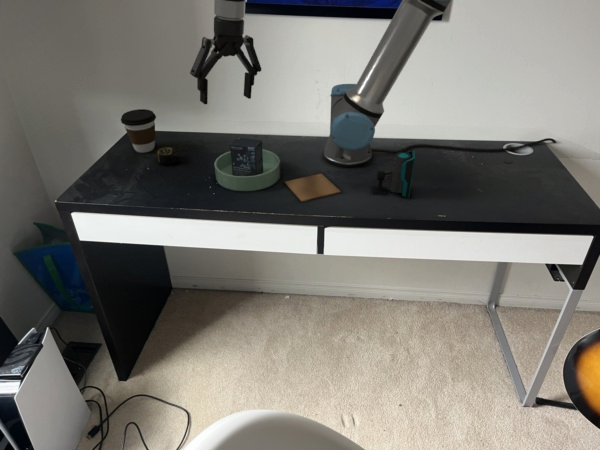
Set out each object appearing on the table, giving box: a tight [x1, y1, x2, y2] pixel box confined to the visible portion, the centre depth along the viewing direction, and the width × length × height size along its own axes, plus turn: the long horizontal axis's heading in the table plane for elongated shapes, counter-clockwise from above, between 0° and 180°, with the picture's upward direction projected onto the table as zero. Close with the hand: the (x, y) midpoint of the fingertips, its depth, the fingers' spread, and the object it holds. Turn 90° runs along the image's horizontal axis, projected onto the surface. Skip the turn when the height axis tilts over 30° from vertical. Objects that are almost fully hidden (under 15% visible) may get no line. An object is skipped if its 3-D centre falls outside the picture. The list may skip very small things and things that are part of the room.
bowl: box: [213, 148, 281, 192], centre depth 141 cm, size 19×19×4 cm
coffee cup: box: [120, 108, 157, 154], centre depth 155 cm, size 11×11×12 cm
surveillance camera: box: [372, 150, 416, 199], centre depth 130 cm, size 6×12×10 cm
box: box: [229, 136, 263, 176], centre depth 139 cm, size 8×6×11 cm
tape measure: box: [155, 146, 181, 165], centre depth 149 cm, size 7×7×4 cm
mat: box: [284, 173, 341, 203], centre depth 135 cm, size 12×12×1 cm
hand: (226, 99), depth 130 cm, fingers open, 13 cm apart
